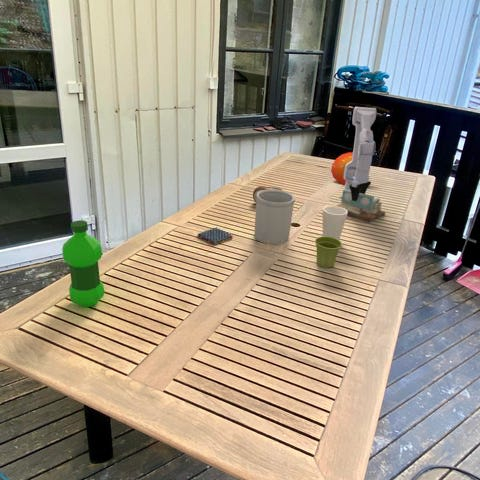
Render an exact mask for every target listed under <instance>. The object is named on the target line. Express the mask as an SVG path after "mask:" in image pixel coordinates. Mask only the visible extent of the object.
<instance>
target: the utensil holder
mask: <svg viewBox="0 0 480 480" xmlns="http://www.w3.org/2000/svg"><path fill="white" fill-rule="evenodd" d="M282 190H283V189H282ZM282 190H275V189H267V190H262V191H259V192H258V193H257V195H256V199H257V202H255V203H256V205H255V216H254V217H255V218H254V238H255V239H256V240H257V241H259V242H261V243H263V244H267V245H281V244H284V243H286V242H288V241H289V238H290V237H289V236H290V232H291V226H292V225H291V224H292V220H293V219H292V218H293V211H294V205H295V201H296V196H295V195H294V194H293V193H292V192H288V191H286V190H283V191H282Z"/></svg>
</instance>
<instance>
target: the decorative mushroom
mask: <svg viewBox="0 0 480 480" xmlns="http://www.w3.org/2000/svg"><path fill="white" fill-rule="evenodd" d="M352 157H353V151H352V152H346V153H343V154H341V155H338V157H337V158H335V160H334V161H333V162H332V164H331V169H330V173H331V174H332V178H333V179H334V180H335V181H337V182H338V183H340V184H342V185H345V184H346V180H345V179H344V170H345V166H346V164H347V163H349V162H350V161H352ZM349 168H357V167H349Z"/></svg>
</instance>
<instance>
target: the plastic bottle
mask: <svg viewBox="0 0 480 480" xmlns="http://www.w3.org/2000/svg"><path fill="white" fill-rule="evenodd" d="M70 227H71V232H72V233H73V235H72V236H71V237H70V238H68V240H66V241H65V242H64V243H63V245H62V248H61V250H62V257H63V258H62V259H63V260H64V261H63V262H64V263H66V265H68V266H69V274H70V281H71V283H70V285H69V288H68V290H69V292H68V293H69V298H70V300H71V302H73V303H74V304H76V305H78V306H80V307H83V308H90V307H94V306H95V305H96V304H98V303H99V301H100V300H101V299H102V298H104V296H105V287H104V283H103V281H101V279H100V268H99V261H100V259H102V256H103V250H102V249H103V248H102V246H101V243H100V241H99V239H97V238H95V237H93V236H92V235H89V234H88V233H87V231H88V230H89V227H88V221H85V220H74V221H72V222H71V223H70Z"/></svg>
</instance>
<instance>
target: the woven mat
mask: <svg viewBox="0 0 480 480" xmlns="http://www.w3.org/2000/svg"><path fill="white" fill-rule="evenodd" d="M196 237H197V238H199V239H200V240H202V241H204V242H206V243H208V244H211V245H212V246H217V245H220V244H221V243H224V242H226V241H230V240H232V239H233V235H232V234H231V233H229V232H226V231H225V230H223V229H221V228H218V227H217V226H216V227H212V228H209V229H207V230H204V231H202V232H199V233H198V234H197V236H196Z"/></svg>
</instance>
